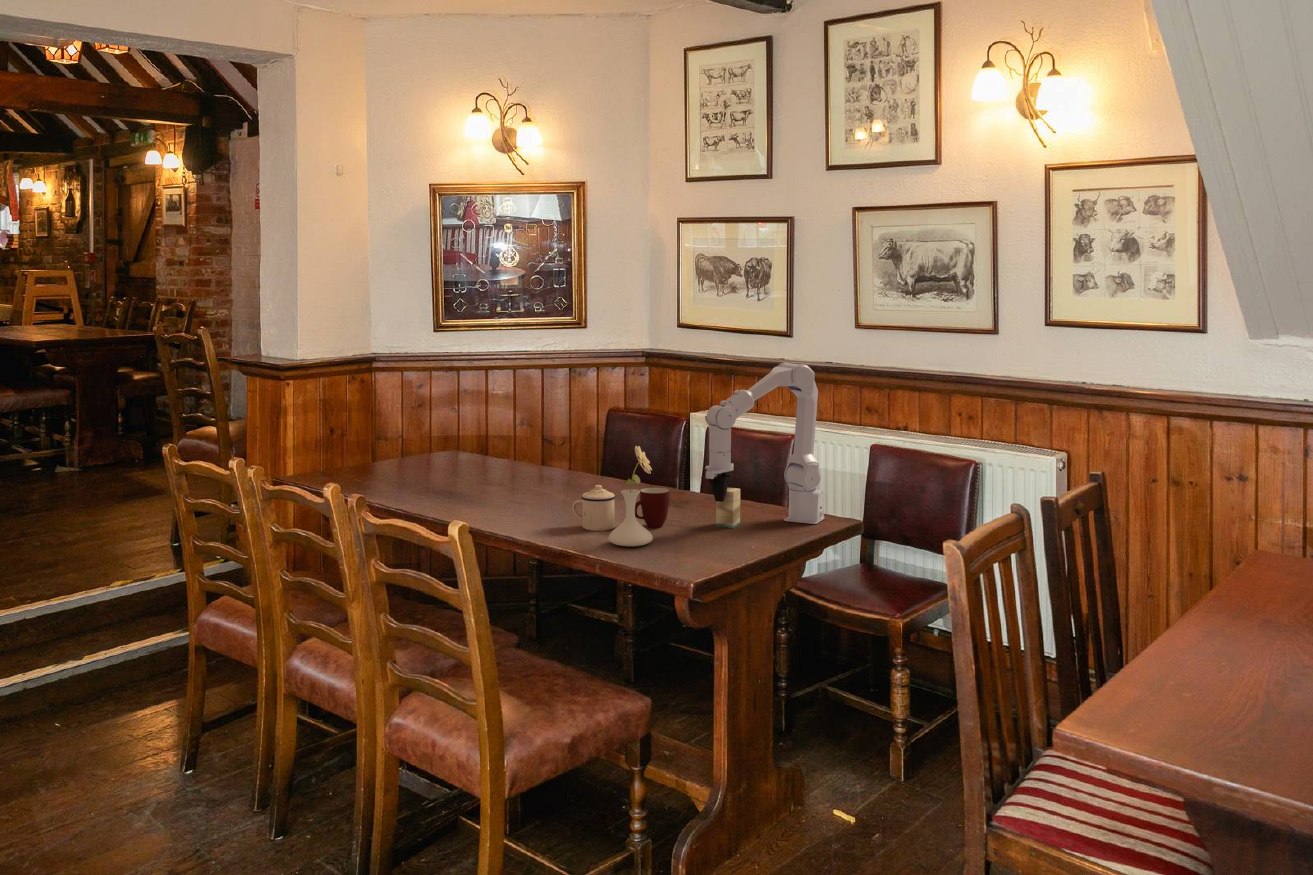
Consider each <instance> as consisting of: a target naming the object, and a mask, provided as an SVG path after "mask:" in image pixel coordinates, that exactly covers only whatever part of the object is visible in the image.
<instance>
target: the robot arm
mask: <svg viewBox="0 0 1313 875" xmlns="http://www.w3.org/2000/svg"><path fill="white" fill-rule="evenodd" d="M815 374H816V373H815V371H813V369H812V368H811V367H810V366H809V365H806V364H803V363H802V364H801V363H800V364H797V363H790V362H788V361H787V362H786V361H785V362H781V363H780V364H778V365H777V366H774V367H773V368H772V369H771V371H770V372H769V373H767V374H766V375H765V376H764V377H763V378H761V379H760V380H758V381H757V382H756V383H755V384H753V385H752V386H751V387H750V388H748V389H747V390H746V389H740V390H739V389H736V390H734V391H733V394H732V395H731V396H730V397H728V398H727V399H725V400H721V401H720V404H719V405H713V406H710V407H709V409H708V411H707V413H706V415H705V416H704V420H705V422H706V424H707V425H708V432H709V433H708V436H709V438H708V439H709V440H708V441H709V442H708V443H709V444H708V445H709V448H708V450H709V452H708V453H709V455H708V458H709V462H708V463H709V465H706V466H705V467H704V468H705V470H706V471H705V479H707V481H708V482H709V484H710V486H711V489H712V492H713V493H712V494H713V497H714V502H716V501H718V502H723V501H724V500H725V496H726V491H727V488H729V484H730V482H731V480H732V478H733V473H730V472H732V471H734V463H733V462H731V461H732V459H731V458H732V456H731V455H732V453H731V450H732V427H733V426H735V423H736V420H738V418H740V417H741V416H742V415H744V414H745V413H747V412H748V411H749V410H751V409H753V408H754V406H755V401H756V400H759V399H760V398H762V397H763V396H765V395H767V394H768V393H769V392H771V391H773V390H775V389H776V388H778V387H785V388H787V389H789V390H790V391H791V392H792V393H793V394H794V395H795V397H796V398H797V400H796V413H795V414H796V415H795V427H794V428H795V429H794V441H793V442H794V443H793V453H792V454H791V456H790V457H788V458H787V459H788V460H787V465H786V467H785V470H784V472H783V476H784V477H783V478H784V480H785V482H786V483H787V484H788V485H787V486H788V488H789V489H788V493H789V494H788V516H787V517H785V518H784V519H783V521H785V522H791V523H792V522H793V523H802V524H810V525H811V524H812V525H816V524H818V523H820V522H821V521H823V520H824V519H825V494H824V491H823V490H819V489H817V488H818V486H819V485H820V483H821V480H822V476H821V472H820V463H819V461H818V460H817V458H816V457H815V455H814V453H815V452H814V451H815V438H816V436H815V435H816V425H817V412H818V411H817V410H818V398H819V390H818V387H817V384H816V381H815V376H816V375H815Z"/></svg>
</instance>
